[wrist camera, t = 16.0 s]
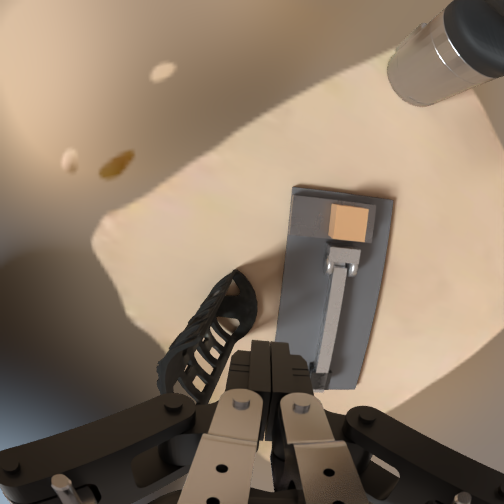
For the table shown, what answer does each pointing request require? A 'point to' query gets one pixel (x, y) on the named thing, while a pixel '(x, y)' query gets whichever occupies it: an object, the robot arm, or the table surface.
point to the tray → (314, 291)
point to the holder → (208, 339)
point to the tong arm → (329, 331)
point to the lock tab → (348, 222)
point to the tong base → (317, 225)
